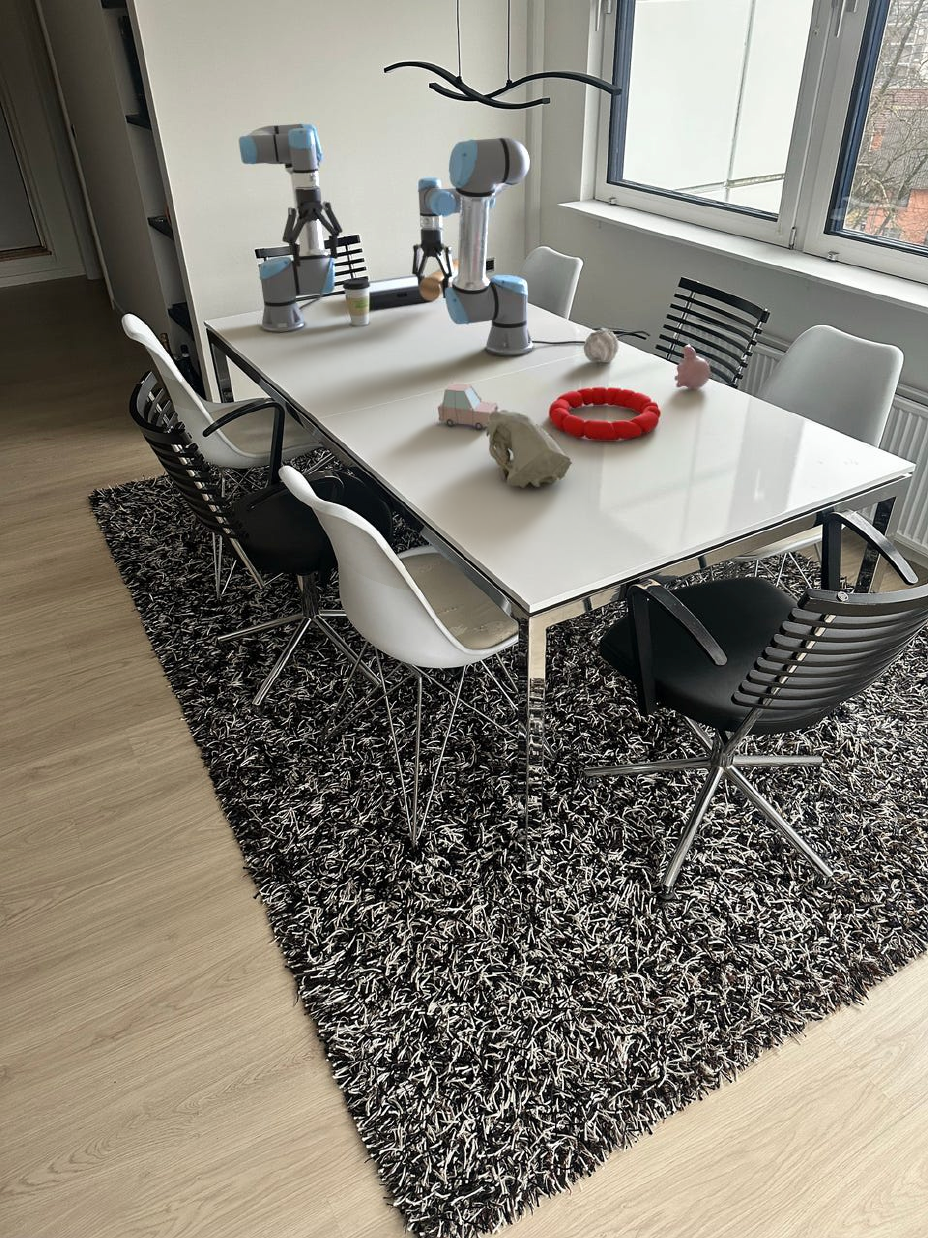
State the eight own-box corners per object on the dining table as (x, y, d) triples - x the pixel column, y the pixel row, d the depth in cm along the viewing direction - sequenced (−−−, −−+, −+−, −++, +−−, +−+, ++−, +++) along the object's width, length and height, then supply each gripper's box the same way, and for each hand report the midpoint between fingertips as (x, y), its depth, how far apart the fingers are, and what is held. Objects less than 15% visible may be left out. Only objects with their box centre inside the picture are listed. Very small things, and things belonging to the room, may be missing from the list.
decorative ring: (589, 435, 224) (684, 402, 234) (527, 398, 247) (617, 369, 256) (589, 461, 229) (683, 427, 238) (529, 422, 251) (617, 393, 260)
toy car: (488, 432, 240) (488, 396, 234) (436, 426, 244) (434, 390, 239) (499, 419, 247) (499, 384, 241) (448, 413, 252) (447, 379, 246)
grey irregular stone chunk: (496, 517, 219) (521, 479, 201) (463, 429, 225) (484, 384, 207) (557, 503, 225) (586, 465, 206) (523, 417, 231) (549, 373, 212)
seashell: (573, 361, 285) (574, 329, 280) (611, 352, 291) (613, 322, 285) (592, 370, 278) (593, 338, 272) (630, 361, 284) (632, 330, 278)
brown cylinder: (449, 279, 337) (448, 257, 333) (469, 281, 335) (468, 258, 330) (419, 299, 316) (418, 276, 312) (440, 301, 314) (439, 278, 309)
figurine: (665, 387, 264) (669, 347, 257) (693, 380, 268) (698, 340, 261) (686, 396, 257) (690, 355, 250) (714, 388, 262) (720, 348, 255)
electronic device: (361, 295, 335) (344, 283, 350) (362, 312, 338) (346, 299, 353) (439, 284, 345) (420, 273, 360) (439, 300, 349) (421, 289, 364)
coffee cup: (372, 326, 323) (368, 283, 314) (345, 327, 323) (340, 284, 315) (374, 318, 331) (371, 276, 322) (348, 319, 331) (344, 277, 323)
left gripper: (277, 194, 258) (287, 270, 270) (349, 183, 270) (355, 256, 282) (264, 191, 262) (275, 266, 274) (335, 180, 275) (342, 253, 287)
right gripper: (399, 228, 305) (403, 296, 318) (455, 231, 299) (457, 301, 312) (408, 223, 311) (412, 291, 324) (463, 227, 304) (465, 295, 317)
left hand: (316, 261), depth 278 cm, fingers open, 13 cm apart
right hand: (434, 295), depth 318 cm, fingers closed on brown cylinder, 8 cm apart
